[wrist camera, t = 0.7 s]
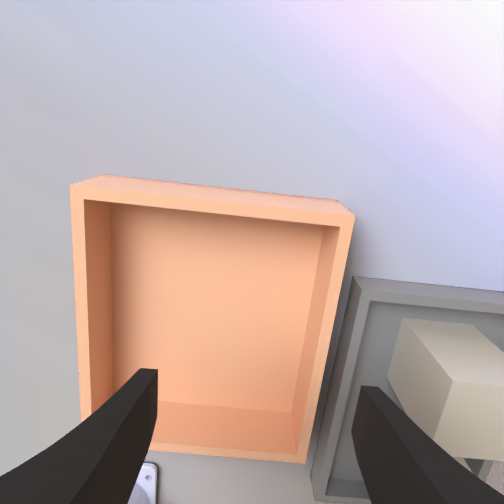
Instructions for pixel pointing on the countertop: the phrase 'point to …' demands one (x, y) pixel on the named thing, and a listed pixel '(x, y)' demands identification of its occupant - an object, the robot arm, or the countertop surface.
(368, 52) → the countertop surface
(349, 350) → the stone tray
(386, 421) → the robot arm
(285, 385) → the bin
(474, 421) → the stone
